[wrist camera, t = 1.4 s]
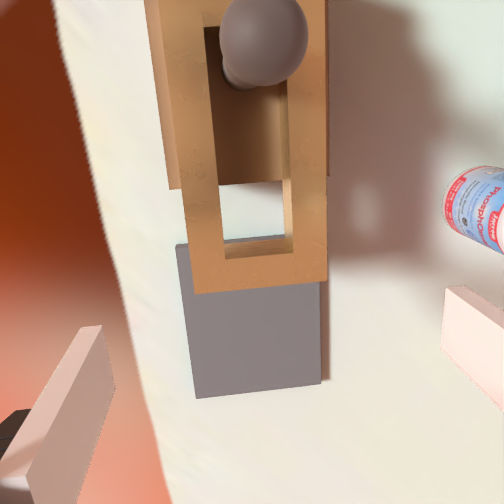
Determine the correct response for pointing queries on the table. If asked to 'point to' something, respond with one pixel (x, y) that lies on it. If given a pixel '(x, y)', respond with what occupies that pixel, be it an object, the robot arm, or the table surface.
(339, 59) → the table surface
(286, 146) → the golden brown rectangular frame
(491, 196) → the pill bottle
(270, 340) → the rubber mat
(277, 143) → the walnut stand
